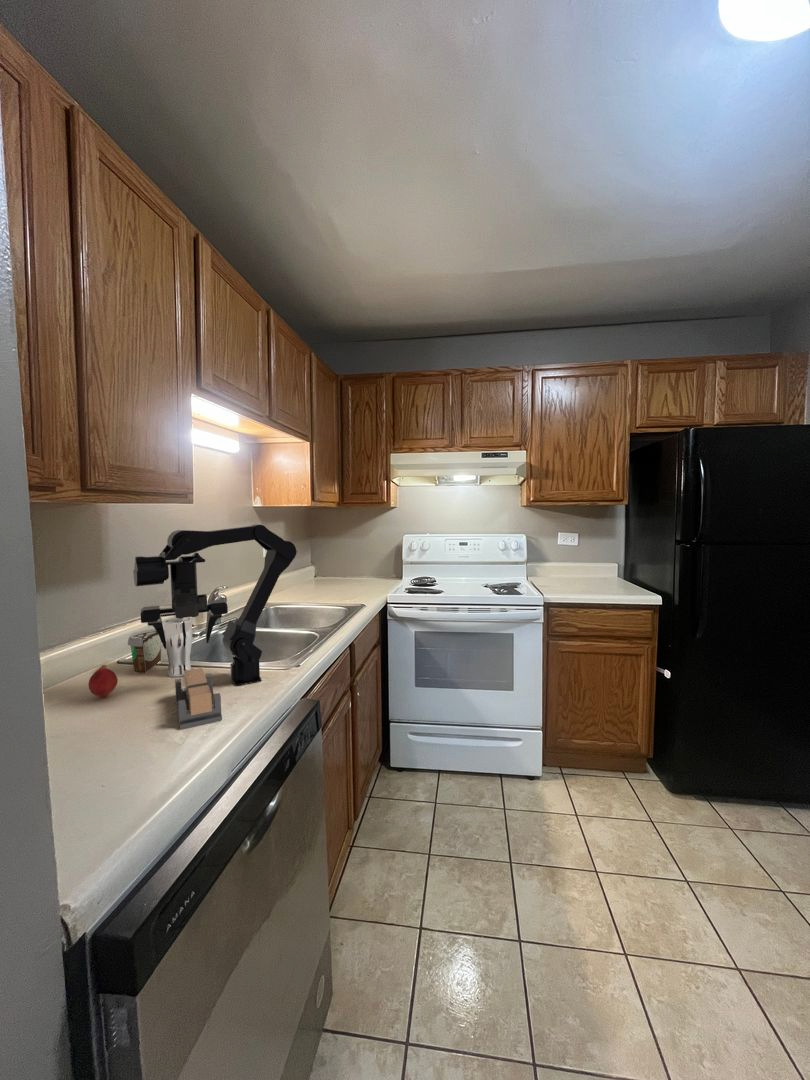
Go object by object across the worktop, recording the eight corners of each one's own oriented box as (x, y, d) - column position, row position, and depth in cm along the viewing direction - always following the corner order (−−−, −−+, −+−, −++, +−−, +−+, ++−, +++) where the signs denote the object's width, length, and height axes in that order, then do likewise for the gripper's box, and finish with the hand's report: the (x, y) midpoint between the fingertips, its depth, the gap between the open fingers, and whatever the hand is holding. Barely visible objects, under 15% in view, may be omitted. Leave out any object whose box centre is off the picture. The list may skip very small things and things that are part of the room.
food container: (142, 661, 137) (140, 628, 137) (163, 660, 138) (162, 627, 137) (119, 675, 125) (118, 639, 124) (143, 675, 125) (141, 639, 125)
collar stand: (211, 692, 113) (210, 672, 112) (222, 720, 97) (221, 697, 97) (175, 698, 109) (174, 678, 108) (180, 729, 93) (179, 705, 93)
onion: (101, 704, 106) (99, 670, 106) (83, 700, 108) (81, 667, 108) (123, 694, 112) (122, 662, 111) (106, 691, 114) (104, 660, 113)
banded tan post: (203, 684, 112) (202, 667, 111) (212, 711, 96) (211, 692, 96) (184, 687, 110) (183, 670, 109) (190, 716, 94) (189, 696, 94)
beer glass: (162, 679, 122) (160, 623, 121) (169, 670, 129) (166, 618, 128) (191, 676, 124) (189, 621, 123) (195, 668, 131) (193, 616, 130)
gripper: (138, 590, 99) (142, 661, 100) (230, 582, 108) (232, 647, 109) (139, 583, 108) (142, 648, 109) (223, 577, 118) (225, 637, 118)
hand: (186, 645), depth 111 cm, fingers open, 9 cm apart
